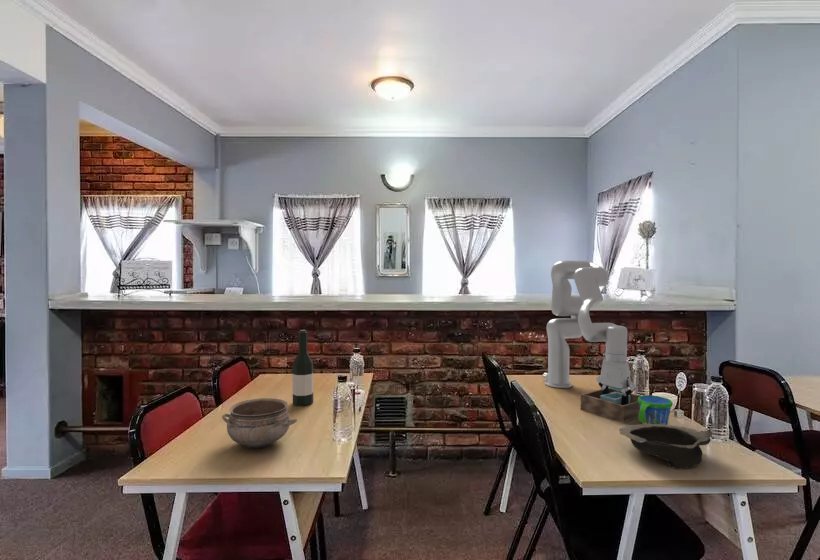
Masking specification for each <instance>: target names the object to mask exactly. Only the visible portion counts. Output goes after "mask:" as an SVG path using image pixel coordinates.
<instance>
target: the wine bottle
mask: <svg viewBox="0 0 820 560" xmlns="http://www.w3.org/2000/svg"><path fill="white" fill-rule="evenodd" d="M313 403H314V361H313V359H312V358H311V356H310V355H309V353H308V331H307V330H306V329H299V332H298V353H297V355H296V357H295V359H294V361H293V362H292V405H294V406H296V407H307V406H311V405H313Z"/></svg>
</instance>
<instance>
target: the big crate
mask: <svg viewBox="0 0 820 560" xmlns="http://www.w3.org/2000/svg"><path fill="white" fill-rule="evenodd" d="M608 390H609V393H612V392H618V393H622V391H619V390H615V389H611V388H608ZM622 394H623V393H622ZM600 395H603V390H601V389H597V390H594V391H590V392H585V393H581V394H580V410H582V411H584V412H588V413H591V414H594V415H597V416H601V417H604V418H607V419H610V420H614V421H617V422H621V423H627V422H630V421H633V420H635V419H638V416H639V412H640V405H639V402H638V397H639V396H640V395H638V394H634V393H631V394H630V403H629V404H626V405H620V404H616V403H613V402H609V401H605V400H602V399H600Z"/></svg>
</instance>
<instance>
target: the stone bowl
mask: <svg viewBox="0 0 820 560" xmlns="http://www.w3.org/2000/svg"><path fill="white" fill-rule="evenodd" d="M618 431H619V434H620V435H622V436H624V437H626V438H628V439H630V443H631V444H632V446H633V447H634V448H636V450H638V451H640V452H641V453H644V454H649V455H651V456H654V457H655V456H657V457H658V458H659V459H661V460H664V461H667V465H668V467H670V466H671V468H672V467H674V468H679V469H683V468H684V469H691V468H693V467H695V466H699V465H700V464H701V463H702V460H703V455H704V454H703V450H702V448H701V446H707V445H709V443H710V442H711V440H712V439H711V437H712V436H713V432H711V431H710V430H700V431H698V430H697V429H694V428H688V427H684V426H678V425H671V424H667V425H662V424H642V423H641V424H630V425H629V424H628V425H626V426H624V427H621V428H619V429H618ZM674 468H673V469H674Z"/></svg>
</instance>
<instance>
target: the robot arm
mask: <svg viewBox="0 0 820 560" xmlns="http://www.w3.org/2000/svg"><path fill="white" fill-rule="evenodd" d="M550 277H551V283H552V289H551V290H552V292H551V303H550V304H551V306H550V308H551V313H552V314H553V315H555V316H557V317H560V318H552V319H550V320H549V321H548V322H547V324H546V334H547V341H548V344H547V345H548V347H547V348H548V352H547V353H548V355H547V358H548V361H547V362H548V363H547V364H548V365H547V366H548V367H547V372H544V373H542V375H541V376H542V378H544V379H545V381H544V385H545V386H547V387H551V388H555V389H556V388H557V389H568V388H572V387H573V382H572V381H570V346H569V344H568V343H567V340H566V339H579V338H581V337H582V336H583V338H584V339H585V341H587V342H589V343H597V342H600V343H601V342H602V343H603V342H605V352H603V354H602V356H603V357H604V359H603V361H602V364H601V370H600V375H599V376H598V377H596V379H595V380H596V381H597V383H598V385H599V387H600V390H603V395H604V394H608V393H609V390H608V388H609V387H613V388H617V389H621V391H622V393H623V396H622V405H626V404H628V402H629V395H630V394H633V392H634V391H635V390H636V389H637V388H638V387H637V386H636V385H635V384H634V383H633V382H632V381H631V371H630V365H629V362H628V359H627V358H628V328H627V327H626V326H624V325H618V324H615V323H613V322H592V320H591V319H592V318H591V317H590V310H591V309H592V308H595V307H597V306H598V305H600V304H601V303H602V302H603V301H604V296H603V294H602V291H601V287H605V286H606V285H608V283H609V275H608V272H607V270H606V269H605V268H604V267H602V266H600V265H598V264H595V263H594V262H591V261H588V260H559V261H557V262H555V263H554V264H553V265H552V267H551V272H550ZM569 280H574V283H575V285H576V289H577V291H578V294H579V295H572V285H571V282H570V281H569ZM561 317H565V318H561ZM569 317H570V318H569Z"/></svg>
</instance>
